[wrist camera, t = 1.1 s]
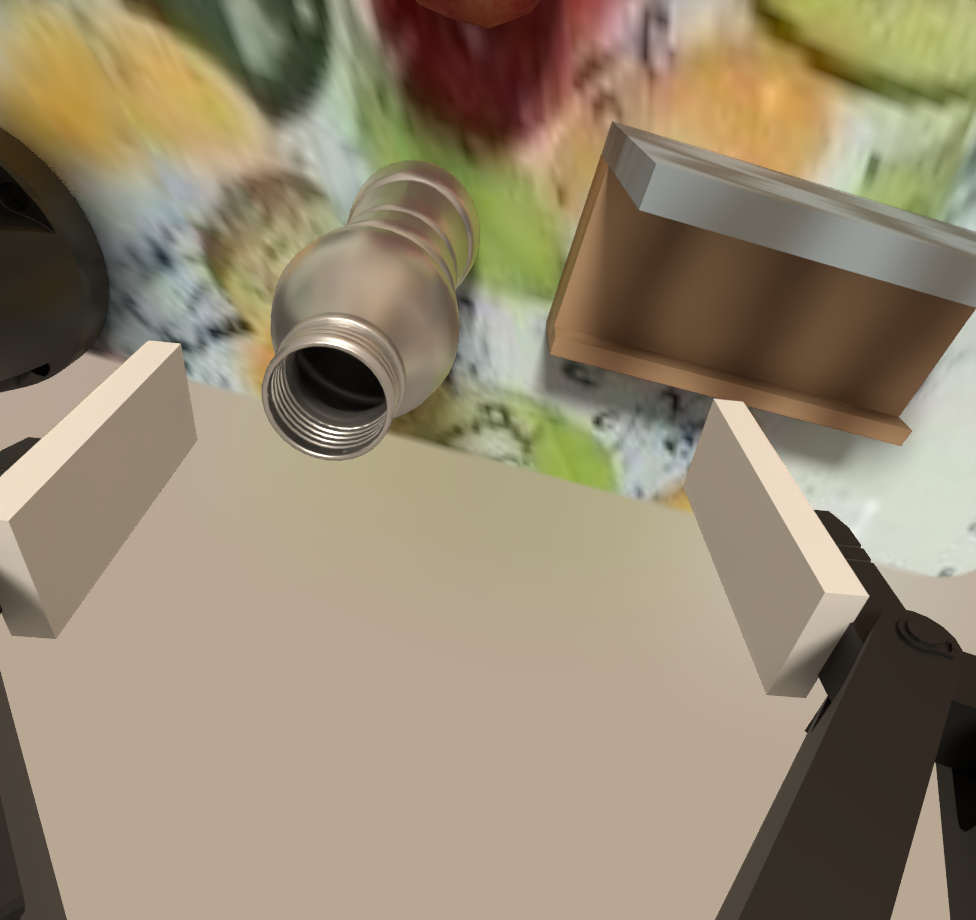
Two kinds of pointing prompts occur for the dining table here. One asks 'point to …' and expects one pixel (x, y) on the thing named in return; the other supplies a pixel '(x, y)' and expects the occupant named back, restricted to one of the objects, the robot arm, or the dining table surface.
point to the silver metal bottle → (371, 312)
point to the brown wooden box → (759, 286)
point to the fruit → (481, 10)
